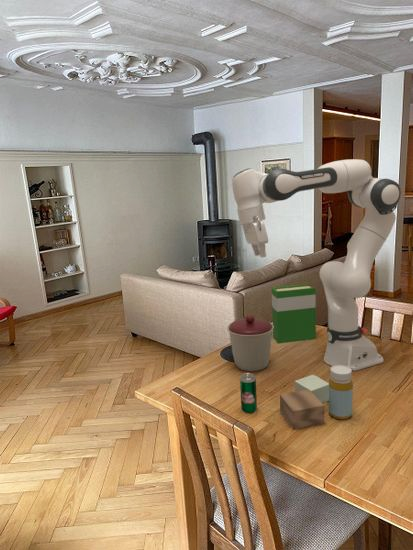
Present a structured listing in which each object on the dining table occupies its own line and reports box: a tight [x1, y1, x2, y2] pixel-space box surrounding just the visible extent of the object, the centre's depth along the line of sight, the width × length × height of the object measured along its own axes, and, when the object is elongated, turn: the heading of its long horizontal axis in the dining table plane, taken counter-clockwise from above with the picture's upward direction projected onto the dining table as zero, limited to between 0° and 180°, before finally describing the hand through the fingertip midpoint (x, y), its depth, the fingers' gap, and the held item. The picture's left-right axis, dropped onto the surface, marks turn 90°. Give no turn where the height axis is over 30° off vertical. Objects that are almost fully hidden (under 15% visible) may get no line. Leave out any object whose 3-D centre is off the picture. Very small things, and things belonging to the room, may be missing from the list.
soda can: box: [239, 372, 258, 414], centre depth 131 cm, size 5×5×12 cm
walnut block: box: [279, 389, 325, 430], centre depth 126 cm, size 10×10×6 cm
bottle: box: [328, 365, 354, 420], centre depth 125 cm, size 7×7×15 cm
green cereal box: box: [271, 283, 317, 345], centre depth 185 cm, size 18×7×24 cm, turn 98°
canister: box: [226, 314, 274, 372], centre depth 161 cm, size 18×18×21 cm
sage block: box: [294, 374, 329, 404], centre depth 136 cm, size 8×8×6 cm
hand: (260, 256), depth 143 cm, fingers open, 8 cm apart
